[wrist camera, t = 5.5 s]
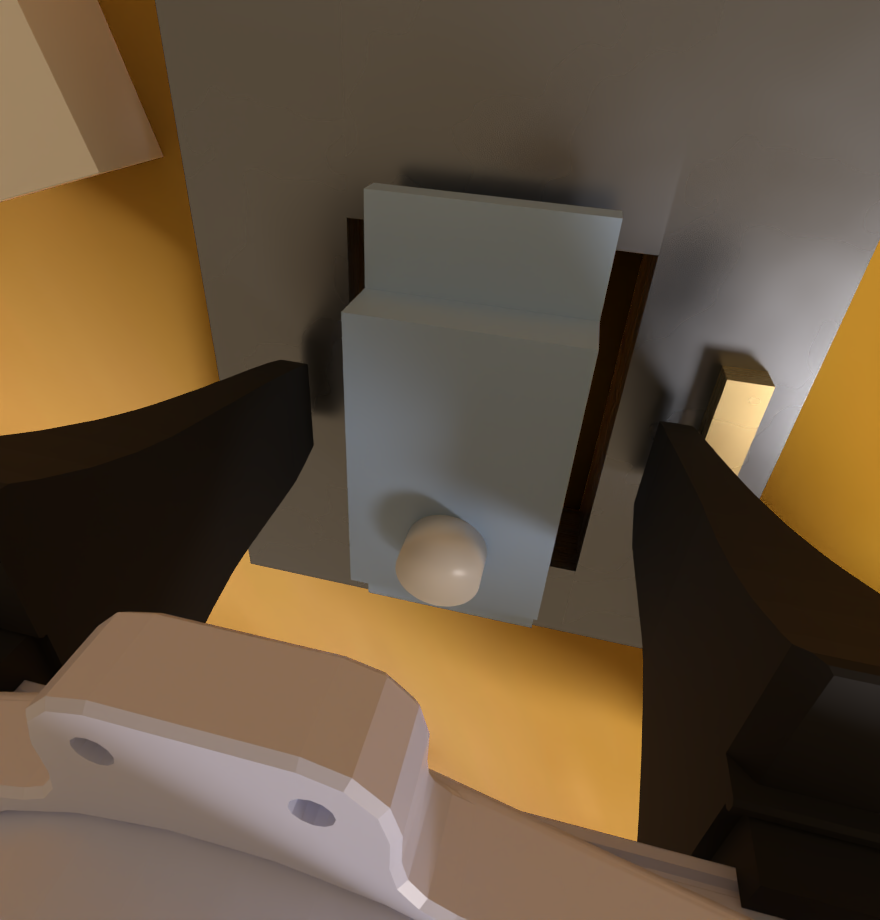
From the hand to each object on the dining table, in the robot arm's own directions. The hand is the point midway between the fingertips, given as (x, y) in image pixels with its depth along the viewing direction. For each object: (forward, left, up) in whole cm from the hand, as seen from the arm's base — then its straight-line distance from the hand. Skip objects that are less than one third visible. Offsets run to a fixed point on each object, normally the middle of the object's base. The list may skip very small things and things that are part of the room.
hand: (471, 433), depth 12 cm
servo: (0, 0, -3) cm, 3 cm away
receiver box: (+11, -5, -3) cm, 13 cm away
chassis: (0, -1, -3) cm, 3 cm away
